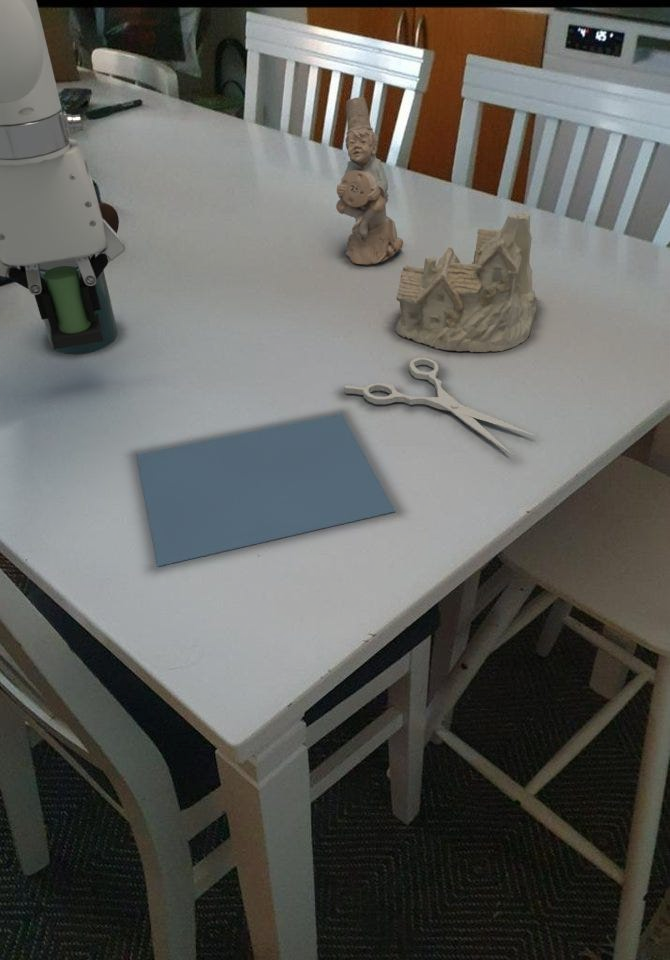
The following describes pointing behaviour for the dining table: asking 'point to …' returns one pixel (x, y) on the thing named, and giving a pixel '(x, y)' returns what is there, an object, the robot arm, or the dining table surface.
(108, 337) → the teal cylinder
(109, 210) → the compass
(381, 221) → the figurine
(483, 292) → the ceramic cottage
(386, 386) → the scissors
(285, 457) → the napkin
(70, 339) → the stamp
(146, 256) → the dining table surface
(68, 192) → the robot arm
